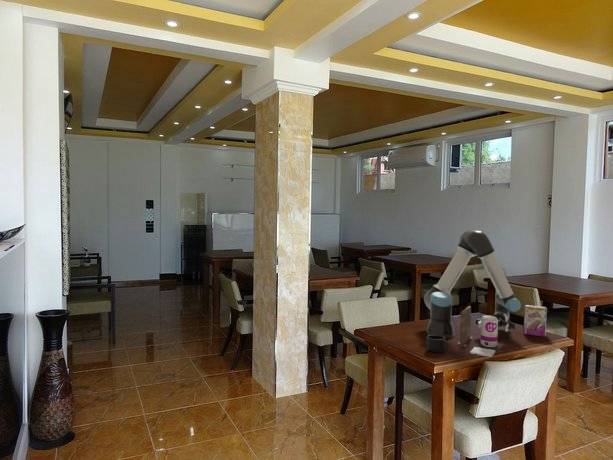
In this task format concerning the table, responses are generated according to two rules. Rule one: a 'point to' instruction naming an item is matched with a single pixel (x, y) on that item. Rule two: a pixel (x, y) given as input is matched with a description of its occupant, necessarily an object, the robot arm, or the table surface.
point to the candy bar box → (535, 320)
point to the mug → (436, 343)
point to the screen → (465, 327)
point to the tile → (482, 351)
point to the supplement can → (489, 331)
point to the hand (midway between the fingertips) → (492, 327)
